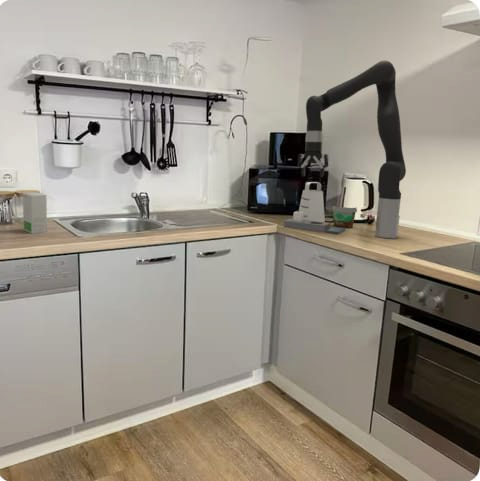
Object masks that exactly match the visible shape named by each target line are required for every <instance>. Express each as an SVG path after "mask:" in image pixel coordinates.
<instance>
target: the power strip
mask: <svg viewBox="0 0 480 481" xmlns="http://www.w3.org/2000/svg"><path fill="white" fill-rule="evenodd" d="M283 227H284V228H289V229H297V230H306V231H312V232H314V231H315V232H320V233H322V232H323V233H325V231H326V230H328V229H330V228H331V222H326V221H325V222H318V221H309V220H304V222H296V221H293V217H292V218H289V219H285V220H284V221H283Z"/></svg>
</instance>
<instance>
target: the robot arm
mask: <svg viewBox="0 0 480 481" xmlns="http://www.w3.org/2000/svg"><path fill="white" fill-rule="evenodd" d="M396 73H397V72H396V68H395V67H394V65H393V63H392V62H391V61H389V60H380V61H379V62H376V63H375V64H373V65H372V66H371V67H368V69H366V70H364V71H363V72H361V73H360V74H358V75H356V76H354V77H352V78H350V79H349V80H346V81H344V82H342V83H340V84H337V85H336V86H333V87H331V88H329V89H328V90H326V92H325V93H322V94H321V95H319V96H318V95H311V96H310V97H309V98H308V99H307V100H306V102H305V104H306V105H305V114H306V120H307V122H306V133H305V146H304V147H305V150H304V154H303V153H299V154H298V155H297V156H298V157H297V167H298V168H300V170H301V172H300V174H301V176H302V177H305V176H306V167H307V165H308V164H317V165H318V166H319V178H322V177H324V175H325V169H326V168H328V167H329V154H327V153H325V154H322V149H323V120H322V116H321V115H322V114H321V113H322V112H323V111H325V110H327V109H329V108H331V107H332V106H333V105H336V104H339V103H341V102H343V101H345V100H348V99H349V98H351V97H352V96H354V95H355V94H357V93H358V92H360V91H362V90H364V89H365V88H368V87H370V86H374V85H375V86H376V93H377V99H378V100H377V108H376V109H377V112H376V114H377V115H376V119H377V120H376V122H377V130H378V135H379V138H380V141H381V143H382V146H383V149H384V152H385V153H384V154H385V162H384V163H383V164H382V165H381V166H380V168H379V172H378V183H377V192H378V201H377V202H378V203H377V211H376V212H377V213H376V220H375V230H374V237H377V238H382V239H394V240H395V239H396V238H397V237H398V232H399V223H400V208H401V201H402V200H401V199H402V192H401V191H400V183H401V181H403V179H404V178H405V176H406V173H407V168H406V164H405V160H404V154H403V148H402V133H401V132H402V131H401V119H400V111H399V105H398V102H397V94H396ZM303 159H305V160H304V161H303ZM321 159H323V162H322V161H321Z"/></svg>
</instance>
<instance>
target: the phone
mask: <svg viewBox="0 0 480 481" xmlns="http://www.w3.org/2000/svg"><path fill="white" fill-rule="evenodd" d="M346 229H347V228H339V227H335V226H332V227H330V229H328V230H326V231H325V232H324V233H325V234H331V235H340V234H341V233H344V232H345V231H346Z"/></svg>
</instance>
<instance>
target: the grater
mask: <svg viewBox="0 0 480 481" xmlns="http://www.w3.org/2000/svg"><path fill="white" fill-rule="evenodd" d="M311 184H316V189H310V185H311ZM324 205H325V204H324V191H322V184H321V182H318V181H310V182H309V181H306V182H305V186H304V189H303V190H302V194H301V198H300V202H299V209H298V211H300V212H304V220H309V221H318V222H326V219H325V218H326V217H325V206H324Z"/></svg>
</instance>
